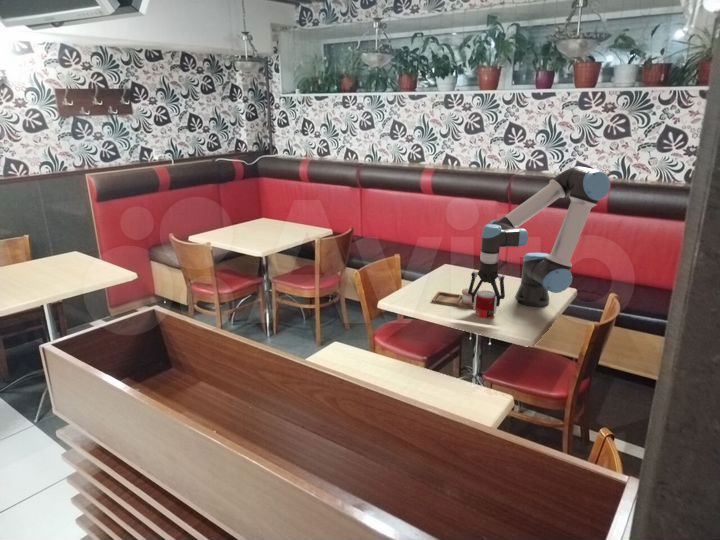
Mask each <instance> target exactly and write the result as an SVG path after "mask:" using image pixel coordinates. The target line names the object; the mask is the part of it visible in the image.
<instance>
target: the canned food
mask: <svg viewBox="0 0 720 540" xmlns="http://www.w3.org/2000/svg"><path fill="white" fill-rule="evenodd" d="M495 298H496V295H495V293H494V291H490V290H478V292H477V299H476V310H475V311H474V312H475V315H476V317H478V318H482V319H491V318H493V317H494V316H495V314H494V303H495Z"/></svg>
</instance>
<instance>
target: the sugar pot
mask: <svg viewBox="0 0 720 540" xmlns="http://www.w3.org/2000/svg"><path fill="white" fill-rule="evenodd" d="M475 289H476V288H473V289H472V291H473V292H474V290H475ZM468 291H469V287H468V288H463V289H462V290H461V295H462V304H467V305H474V303H472V295H471V294H468ZM478 291H479V290H478ZM478 291H477V292H478ZM476 295H477V293H476Z"/></svg>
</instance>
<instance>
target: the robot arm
mask: <svg viewBox="0 0 720 540" xmlns="http://www.w3.org/2000/svg"><path fill="white" fill-rule="evenodd" d="M610 189H611V180H610V178H609V175H608V174H606V172H604V171H602V170H599V169H595V168H589V167H586V166H585V167H584V166H580V165H579V166H573V167H569V168H567V169H565V170H564V171H562V172H560V173H558V174H557V175H555V176H554V177H553V178H552V179H550V180H549V183H548V184H546V186H544V187H543V188H541V189H540V190H539V191H537V192H536V193H535V194H533V195H532V196H530V197H529V198H528V199H526V200H525V201H524V202H522V203H520V205H518V206H517V207H516V208H514V209H512V210H511V211H509V213H507V214H506V215H504V216H502V218H500V219H493V220H491V221H490V222H488V223H487V224H485V225H484V226H483V228H482V233H481V246H480V247H481V248H480V258H479V259H480V261H479V268H478V271H472V273H471V280H470V282H469V283H470V284H469V287H468V288H469V291H468V294H471V295H472V303H474V309H472V311H474V312H476V299H477V295H476V293H477V291H479V289H480V287H481V285H482V284H483V283H488V284H491V287H492V289H493V293H495V295H496V298H495V303H494V315H496V314H497V308H499V306H500V304H501V300H504V299H505V297H506V294H505V282H504V280H505V275H501V274H499V273H498V269H499V260H500V259H499V258H500V249H501V248H515V247H516V248H519V247H525V246H527V244H528V242H529V233H528V230H526V229H525V228H520V227H521V226H522V225H523V224H525V223H527V222H528V221H529V220H531V219H532V218H533V217H535V216H536V215H537V214H539V213H540V212H542V211H543V210H544V209H546V208H548V206H550V205H552V204H553V203H554V202H556V201H557V200H558V199H560V198H562V199H563V198H566V196H568V195H569V196H568V197H569V198H568V199H570V204H569V206H568V209H567V211H566V214H565V216H564V218H563V222H562V224H561V225H560V229H559V231H558V234H557V236H556V239H555V241H554V244H553V247H552V248H551V252H550V253H547V252H528V253H526V254H524V256H523V260H522V271H521V280H520V285H519V287H518V289H517V290H516V292H515V293H516V294H515V299H516V300H517V303H519V304H522V305H525V306H527V307H528V306H529V307H544V306H548V304H550V295H549V292H550V293H553V294H558V293H563V292H564V291H566V290H567V289H568V288H569V287H570V286H571V284H572V282H573V274H572V272H571V269H572V267H573V265H572V262H571V260H572V257H573V254H574V252H575V249H576V247H577V244H578V243H579V240H580V237H581V235H582V233H583V230H584V228H585V224H586V222H587V220H588V217H589V215H590V212H591V210H592V209H593V208H594V207H595V206H598V203H599V201H600V200H603V199H604V198H605V197H607V196H608V194H609V192H610ZM477 277H479V279H480V280H479V282H478V284H477V285H476V287H475V288H474V285H475V281H476V278H477ZM496 279H498V281H499V287H500V289H499V288H498V286H497V283H496ZM472 289H475V290H474V292H473V291H472ZM499 290H500V292H499Z"/></svg>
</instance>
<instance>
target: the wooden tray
mask: <svg viewBox="0 0 720 540" xmlns="http://www.w3.org/2000/svg"><path fill="white" fill-rule="evenodd" d="M431 303H432V304H433V303H434V304H440V305H446V306H452V307H459V308H464V309H471V310H473V309H474V305H467V304H462V294H460V293H459V294H457V293H452V292H444V291H437V293H436V294H435V295H434V296H433V298H432V299H431Z"/></svg>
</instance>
